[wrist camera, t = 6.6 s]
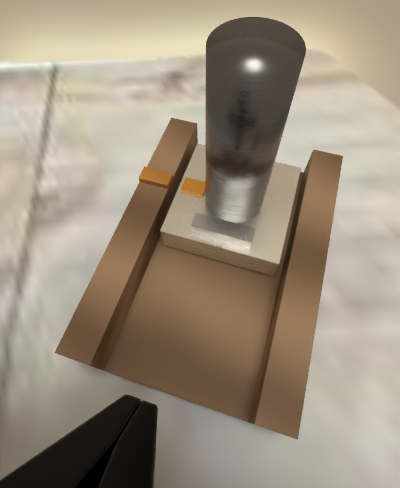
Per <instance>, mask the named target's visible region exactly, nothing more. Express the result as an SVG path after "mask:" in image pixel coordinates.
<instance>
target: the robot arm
mask: <svg viewBox="0 0 400 488" xmlns="http://www.w3.org/2000/svg"><path fill="white" fill-rule="evenodd" d="M157 411H158V408H157V405H155V404H152V403H149V402H147V401H142V402H141V400H140V399H138V398H136V397H133V396H130V395H124V396H123V397H121V398H120V399H118V400H117V401H115V402H114V403H112V404H111V405H109V406H108V407H107V408H105V409H104V410H102V411H101V412H99V413H98V414H96V415H95V416H93V417H92V418H90V419H89V420H88V421H86V422H85V423H83V424H82V425H80V426H79V427H77V428H76V429H74V430H73V431H71V432H70V433H69V434H67V435H66V436H64V437H63V438H61V439H60V440H58V441H57V442H55V443H54V444H52V445H51V446H49V447H48V448H47V449H45V450H44V451H42V452H41V453H39V454H38V455H36V456H35V457H33V458H32V459H30V460H29V461H28V462H26V463H25V464H23V465H22V466H20V467H19V468H17V469H16V470H14V471H13V472H11V473H10V474H9V475H7V476H6V477H4V478H3V479H1V480H0V488H154V470H155V451H156V431H157Z"/></svg>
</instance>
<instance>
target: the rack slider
mask: <svg viewBox="0 0 400 488" xmlns="http://www.w3.org/2000/svg"><path fill="white" fill-rule="evenodd" d="M305 53H306V46H305V42H304V40H303V38H302V37H301V36H300V34H299V33H298V32H297V31H295V30H294V29H293V28H291V27H290V26H288V25H286V24H284V23H282V22H279V21H276V20H273V19H268V18H262V17H245V18H239V19H234V20H231V21H228V22H225V23H223V24H221V25H220V26H218V27H217V28H215V29H214V30H213V31H212V32H211V34H210V35H209V37H208V39H207V42H206V146H204V145H200V144H197V146H196V148H195V150H194V153H193V155H192V157H191V160H190V162H189V164H188V167H187V169H186V171H185V174H184V176H183V178H182V181H181V183H180V185H179V188H178V190H177V192H176V195H175V197H174V200H173V202H172V204H171V207H170V209H169V211H168V214H167V216H166V218H165V221H164V223H163V225H162V228H161V230H160V232H161V236H162V240H163V244H164V245H165V246H168V247H172V248H175V249H179V250H182V251H186V252H189V253H193V254H196V255H200V256H203V257H207V258H210V259H214V260H217V261H221V262H224V263H228V264H231V265H235V266H238V267H242V268H245V269H249V270H252V271H256V272H259V273H263V274H266V275H270V276H273V275H274V273H275V271H276V269H277V267H278V265H279V263H280V258H281V254H282V250H283V245H284V241H285V236H286V232H287V228H288V223H289V219H290V215H291V210H292V206H293V201H294V197H295V193H296V188H297V184H298V180H299V175H300V171H301V168H299V167H294V166H290V165H286V164H282V163H277V162H275V158H276V155H277V151H278V148H279V144H280V141H281V137H282V134H283V131H284V127H285V124H286V120H287V117H288V113H289V110H290V106H291V103H292V99H293V96H294V92H295V89H296V85H297V82H298V78H299V75H300V71H301V68H302V64H303V61H304V57H305Z"/></svg>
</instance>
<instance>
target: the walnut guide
mask: <svg viewBox="0 0 400 488" xmlns="http://www.w3.org/2000/svg"><path fill="white" fill-rule="evenodd" d="M197 144H198V140H197V123H192V122H188V121H183V120H179V119H174V118H171V120H170V122H169V124H168V126H167V128H166V130H165V132H164V134H163V136H162V138H161V140H160V142H159V144H158V146H157V148H156V150H155V152H154V154H153V156H152V158H151V160H150V162H149V164H148V166H147V167H144V168H143V170H142V172H141V174H140V176H139V181H140V182H139V184H138V186H137V188H136V190H135V192H134V194H133V196H132V198H131V200H130V202H129V204H128V206H127V208H126V210H125V212H124V214H123V216H122V218H121V220H120V222H119V224H118V226H117V228H116V230H115V232H114V234H113V236H112V238H111V240H110V242H109V244H108V246H107V248H106V251H105V253H104V255H103V257H102V259H101V261H100V263H99V265H98V267H97V269H96V271H95V273H94V275H93V277H92V279H91V281H90V283H89V285H88V287H87V289H86V291H85V293H84V295H83V297H82V299H81V301H80V303H79V305H78V307H77V309H76V311H75V313H74V315H73V317H72V319H71V321H70V323H69V325H68V327H67V329H66V331H65V333H64V335H63V337H62V339H61V341H60V343H59V345H58V347H57V349H56V351H55V353H57V354H60V355H62V356H65V357H68V358H71V359H74V360H76V361H79V362H82V363H85V364H87V365H90V366H93V367H96V368H99V369H102V370H104V371H107V372H110V373H113V374H116V375H118V376H121V377H124V378H127V379H130V380H132V381H135V382H138V383H141V384H144V385H146V386H149V387H152V388H155V389H158V390H160V391H163V392H166V393H169V394H172V395H174V396H177V397H180V398H183V399H186V400H188V401H191V402H194V403H197V404H200V405H202V406H205V407H208V408H211V409H214V410H216V411H219V412H222V413H225V414H228V415H230V416H233V417H236V418H239V419H242V420H244V421H247V422H250V423H253V424H255V425H258V426H261V427H264V428H267V429H269V430H272V431H275V432H278V433H281V434H283V435H286V436H289V437H292V438H295V439H297V440H298V434H299V428H300V422H301V416H302V409H303V403H304V397H305V390H306V384H307V378H308V372H309V365H310V359H311V353H312V347H313V340H314V334H315V328H316V321H317V315H318V309H319V303H320V296H321V290H322V284H323V278H324V271H325V265H326V259H327V252H328V246H329V240H330V234H331V227H332V221H333V215H334V208H335V202H336V196H337V190H338V183H339V177H340V171H341V165H342V158H343V156H340V155H336V154H331V153H327V152H322V151H318V150H313V152H312V154H311V157H310V159H309V161H308V164H307V166H306V168H305V171H304V173H302V172H300V175H299V180H298V184H297V188H296V193H295V197H294V201H293V206H292V210H291V215H290V219H289V223H288V228H287V232H286V236H285V241H284V245H283V250H282V254H281V258H280V263H279V265H278V267H277V269H276V271H275V273H274V275H273V276H270V275H266V274H263V273H259V272H256V271H252V270H249V269H245V268H242V267H238V266H235V265H231V264H228V263H224V262H221V261H217V260H214V259H210V258H207V257H203V256H200V255H196V254H193V253H189V252H186V251H182V250H179V249H175V248H172V247H168V246H165V245H164V244H163V240H162V236H161V232H160V230H161V228H162V225H163V223H164V221H165V218H166V216H167V214H168V211H169V209H170V207H171V204H172V202H173V200H174V197H175V195H176V192H177V190H178V188H179V185H180V183H181V181H182V178H183V176H184V174H185V171H186V169H187V167H188V164H189V162H190V160H191V157H192V155H193V153H194V150H195V148H196V146H197Z"/></svg>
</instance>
